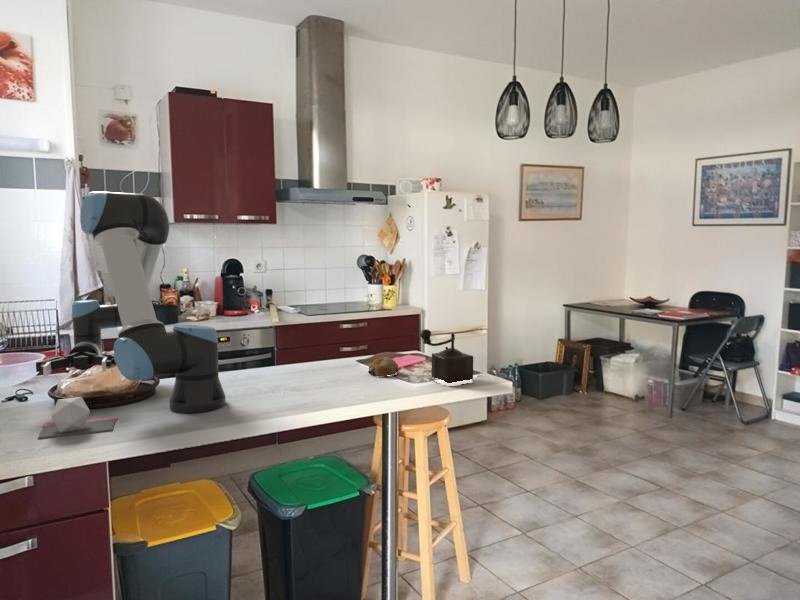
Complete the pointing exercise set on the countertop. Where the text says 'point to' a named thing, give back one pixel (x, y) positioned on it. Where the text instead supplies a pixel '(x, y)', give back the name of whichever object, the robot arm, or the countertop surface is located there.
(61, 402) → the die
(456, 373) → the manual coffee grinder
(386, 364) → the mottled brown round lump
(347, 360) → the countertop surface
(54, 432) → the mat
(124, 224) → the robot arm
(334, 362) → the countertop surface
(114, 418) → the line
